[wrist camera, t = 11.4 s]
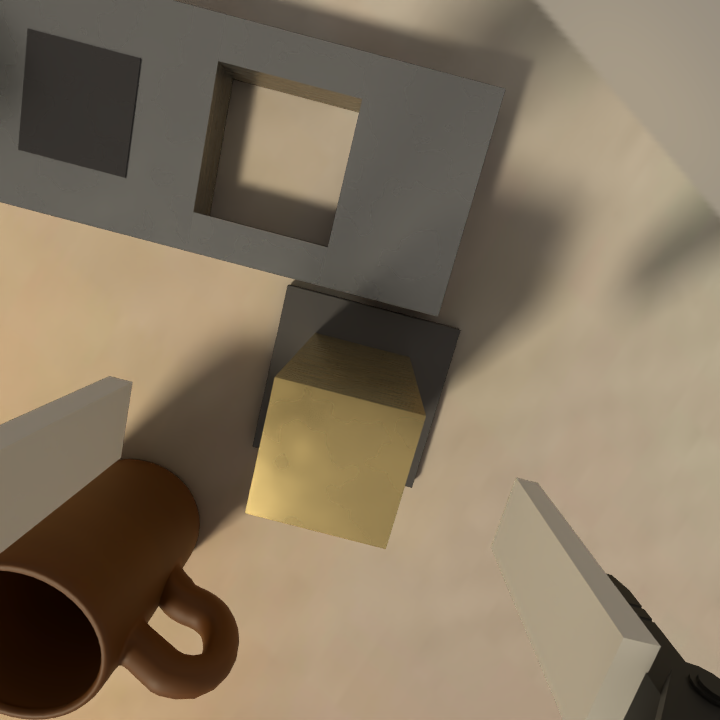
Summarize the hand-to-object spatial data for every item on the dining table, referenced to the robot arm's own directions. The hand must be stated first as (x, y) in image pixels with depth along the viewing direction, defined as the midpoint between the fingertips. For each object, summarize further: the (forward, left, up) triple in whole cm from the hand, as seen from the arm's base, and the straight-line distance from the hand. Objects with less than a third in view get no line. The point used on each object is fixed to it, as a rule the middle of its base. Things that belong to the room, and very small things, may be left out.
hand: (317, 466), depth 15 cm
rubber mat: (+1, 0, -10) cm, 10 cm away
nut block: (0, 0, -9) cm, 9 cm away
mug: (-7, -11, -10) cm, 16 cm away
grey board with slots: (-9, +10, -10) cm, 17 cm away
